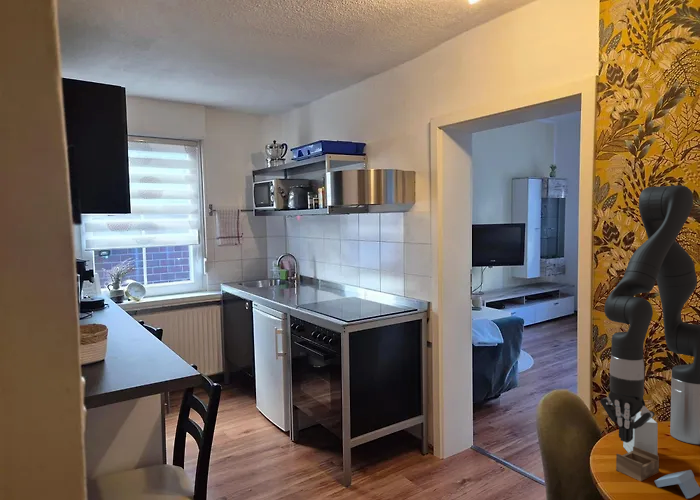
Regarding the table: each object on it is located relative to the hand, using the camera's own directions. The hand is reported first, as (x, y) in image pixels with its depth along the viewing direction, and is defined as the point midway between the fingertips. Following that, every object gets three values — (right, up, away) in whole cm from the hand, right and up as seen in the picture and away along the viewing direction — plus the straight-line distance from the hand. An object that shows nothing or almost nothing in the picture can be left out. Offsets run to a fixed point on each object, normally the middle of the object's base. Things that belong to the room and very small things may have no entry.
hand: (625, 440), depth 119 cm
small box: (+8, -7, +6) cm, 12 cm away
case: (+2, -7, -2) cm, 7 cm away
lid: (+5, -4, -10) cm, 12 cm away
